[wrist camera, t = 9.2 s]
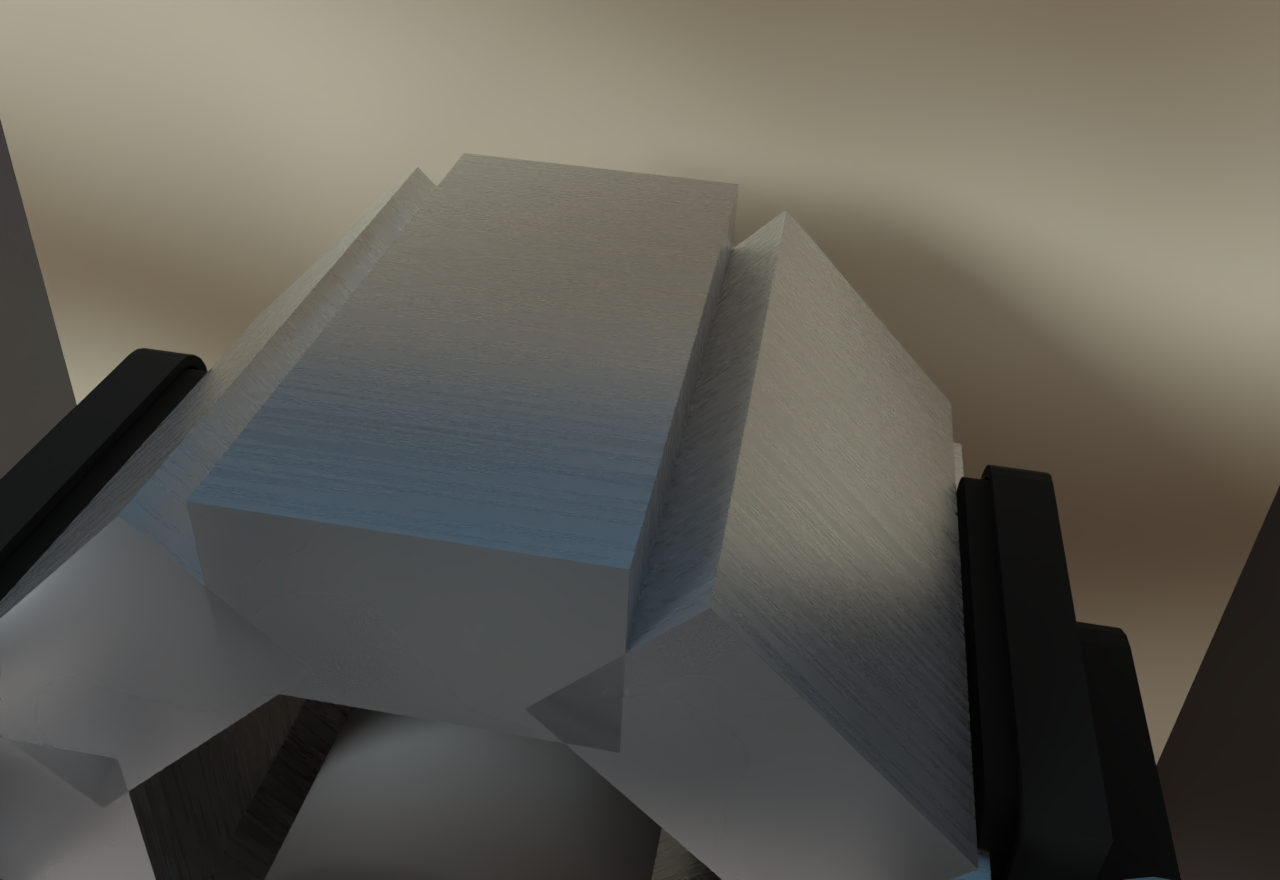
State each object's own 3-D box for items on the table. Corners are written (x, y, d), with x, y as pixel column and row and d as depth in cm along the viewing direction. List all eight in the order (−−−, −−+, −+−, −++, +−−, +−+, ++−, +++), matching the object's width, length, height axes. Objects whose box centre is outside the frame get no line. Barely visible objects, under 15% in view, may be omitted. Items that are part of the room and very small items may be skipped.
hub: (214, 124, 11) (-204, 441, 7) (1016, 215, 10) (1095, 640, 6) (305, 676, 15) (80, 1081, 11) (881, 773, 14) (871, 1252, 10)
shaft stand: (-40, -362, 11) (-1336, -321, 5) (1532, -261, 10) (2857, 16, 3) (201, 673, 20) (-163, 1222, 13) (1087, 827, 18) (1196, 1550, 11)
